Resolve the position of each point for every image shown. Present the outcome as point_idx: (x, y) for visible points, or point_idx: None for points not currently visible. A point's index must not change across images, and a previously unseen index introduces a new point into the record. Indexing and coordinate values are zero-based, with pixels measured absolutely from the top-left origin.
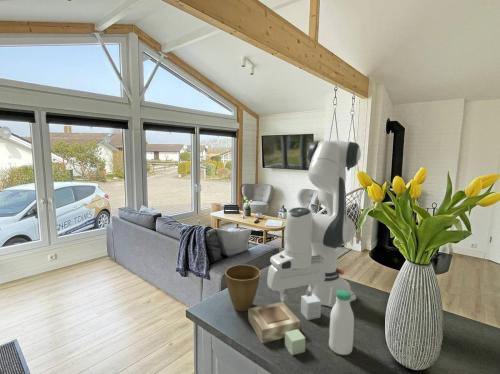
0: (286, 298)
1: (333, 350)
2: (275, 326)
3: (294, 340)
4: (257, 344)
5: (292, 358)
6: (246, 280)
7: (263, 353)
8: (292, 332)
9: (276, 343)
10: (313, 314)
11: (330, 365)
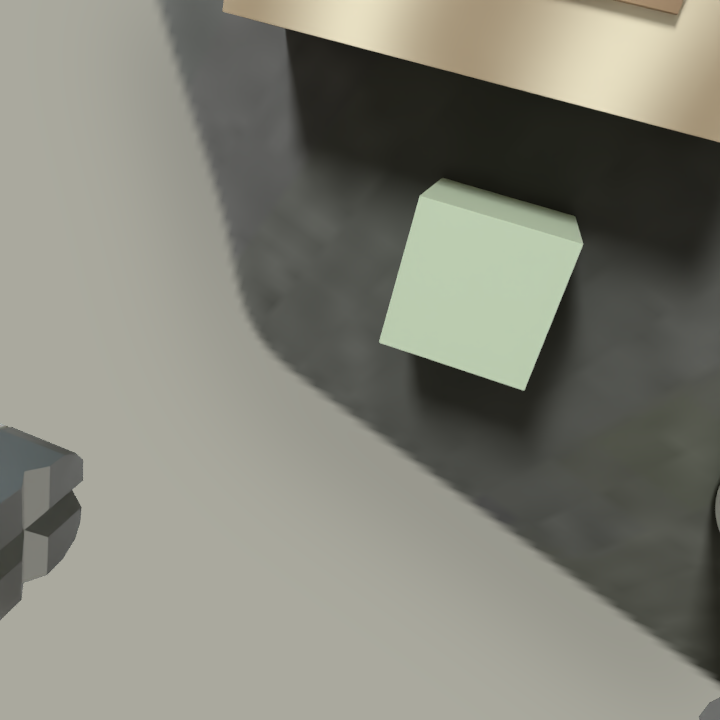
0: (13, 589)
1: (717, 495)
2: (392, 45)
3: (406, 346)
4: None
5: None
6: None
7: (230, 146)
8: (482, 250)
9: (396, 111)
10: None
11: (561, 530)
